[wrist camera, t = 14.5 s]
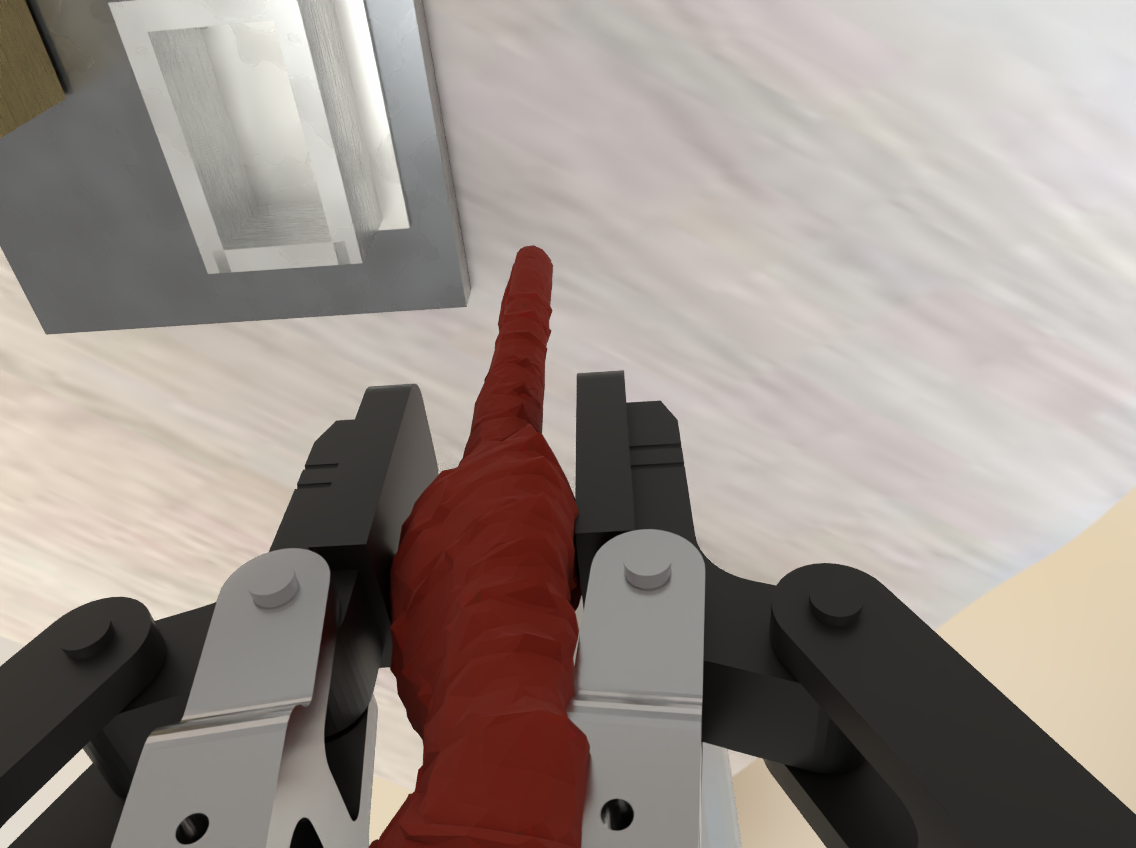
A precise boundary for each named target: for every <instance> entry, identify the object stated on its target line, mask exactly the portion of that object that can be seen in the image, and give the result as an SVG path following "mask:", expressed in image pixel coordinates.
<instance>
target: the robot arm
mask: <svg viewBox="0 0 1136 848" xmlns="http://www.w3.org/2000/svg"><path fill="white" fill-rule="evenodd" d="M437 476H438V466H437V461H436V456H435V452H434V447H433V443H432V438H431V434H430V429H429V425H428V421H427V416H426V412H425V407H424V403H423V398H422V394H421V391H420V389H419V387H418V385H417V384H403V385H388V386H373V387H368V388H367V389H366V391H365V394H364V396H363V399H362V402H361V405H360V407H359V410H358V413H357V415H356V418H355V420H340V421H336V422H335V423H334V424H333V425H332V426H331V427H330V428H328V429H327V430H326V431H325V432H324V433H323V434H322V435H321V436H320V437H319V438H318V439H317V440H316V441H315V442H314V445H313V447H312V450H311V452H310V454H309V457H308V459H307V462H306V464H305V470H303V471H302V474H301V476H300V478H299V481H298V483H297V489H295V490H294V493H293V495H292V498H291V500H290V502H289V505H288V507H287V510H286V512H285V514H284V517H283V519H282V522H281V524H280V526H279V529H278V531H277V534H276V536H275V538H274V541H273V543H272V546H271V548H270V550H269V552H268V553H265V554H263V555H260V556H258V557H256V558H254V559H252V560H250V561H248V562H247V563H245V564H244V565H242V566H241V567H240V568H238V569H237V570H236V571H235V572H234V573H233V574H232V575H231V576H230V577H229V578H228V579H227V581H226V582H225V583H224V585H223V587H222V588H221V591H220V593H219V596H218V599H217V602H215V603H212V604H210V605H207V606H204V607H201V608H197V609H194V610H191V611H187V612H184V613H180V614H177V615H174V616H170V617H167V618H163V619H160V620H157V621H154V620H153V618H152V616H151V614H150V612H149V611H148V609H147V607H146V606H145V605H144V604H143V603H141V602H139V601H138V600H135V599H132V598H127V597H110V598H104V599H100V600H96V601H92V602H90V603H87V604H84V605H82V606H80V607H78V608H76V609H74V610H72V611H70V612H68V613H67V614H65V615H63V616H62V617H61V618H59V619H58V620H57V621H55V622H54V623H53V624H51V625H50V626H49V627H48V628H46V629H45V630H44V631H43V632H42V633H40V634H39V635H38V636H37V637H36V638H34V639H33V640H32V641H31V642H29V643H28V644H27V645H26V646H25V647H23V648H22V649H21V650H20V651H19V652H17V653H16V654H15V655H14V656H12V657H11V658H10V659H9V660H8V661H6V663H4V664H3V665H2V666H1V667H0V828H1V827H2V826H3V825H4V824H5V823H6V821H7V820H9V818H11V816H13V815H14V814H15V813H16V812H17V811H18V810H19V809H20V808H21V807H22V806H23V805H24V804H25V803H26V802H27V801H28V800H29V799H30V798H31V797H32V796H33V795H34V794H35V793H37V791H38V790H39V789H41V788H42V787H43V785H45V784H46V783H47V782H48V781H49V780H50V779H51V778H52V777H53V776H54V775H55V774H56V773H57V772H58V771H59V770H60V769H61V768H62V767H63V766H64V765H65V764H66V763H68V762H69V761H70V760H71V759H72V758H73V757H74V756H75V755H76V754H77V753H78V752H79V751H80V750H81V749H82V748H83V749H84V751H85V752H86V754H87V755H88V756H89V758H90V759H91V761H92V762H93V764H92V765H91V766H90V767H89V768H88V769H86V771H84V773H82V774H81V775H80V776H79V777H78V778H77V779H76V780H75V781H74V782H73V783H72V784H71V785H70V786H69V787H68V788H67V789H66V790H65V791H64V792H63V793H62V794H61V795H60V796H59V797H58V798H57V799H56V800H55V801H54V802H53V803H52V804H51V805H50V806H49V807H48V808H47V809H46V810H45V811H44V812H43V813H42V814H41V815H40V816H39V817H38V818H37V819H36V820H35V821H34V822H33V823H32V824H31V825H30V826H29V827H28V828H27V829H26V830H25V831H24V832H23V833H22V834H21V835H20V836H19V837H18V838H17V839H16V840H15V841H14V842H13V843H12V844H11V845H10V846H9V847H8V848H368V847H369V823H370V809H371V797H372V796H371V795H372V783H373V770H374V757H375V743H376V730H377V716H378V707H377V703H376V699H375V697H374V694H373V691H374V687H375V682H376V678H377V674H378V670H379V668H385V667H391V656H392V646H393V644H392V638H391V631H390V627H391V625H392V621H391V604H390V598H389V593H390V585H391V578H390V572H391V567H392V563H393V559H394V556H395V554H396V553H397V551H398V545H399V540H400V534H401V528H402V525H403V523H404V522H405V521H406V519H407V518H408V517H409V515H410V514H411V511H412V509H413V506H414V504H415V502H416V501H417V499H418V498H419V497H420V495H421V494H422V493H423V492H424V490H425V489H426V488H427V487H428V486H429V485H430V484H431V483H432V482H433V481H434V479H435V478H436V477H437ZM575 502H576V505H577V507H578V516H577V518H576V519H575V537H576V546H577V555H578V564H579V573H580V582H581V591H582V596H581V600H580V603H579V606H578V608H577V610H576V611H575V613H576V618H577V623H578V627H579V635H578V641H577V645H576V649H575V653H574V657H573V660H574V679H573V688H574V692H575V695H573V696H571V698H570V699H569V701H568V703H567V705H566V707H565V711H566V714H567V716H568V718H569V719H570V720H571V721H572V722H573V723H574V724H575V725H576V726H577V727H578V728H579V729H580V730H581V731H582V732H583V733H584V734H585V735H586V736H587V739H588V742H589V744H590V751H589V756H588V765H587V783H586V794H585V800H584V807H583V822H582V838H581V848H742V845H741V838H740V831H739V824H738V817H737V810H736V804H735V796H734V789H733V783H732V776H731V769H730V762H729V755H728V749H730V750H734V751H737V752H741V753H745V754H748V755H752V756H756V757H759V758H763V759H764V762H765V764H766V766H767V768H768V769H769V771H770V773H771V774H772V775H773V777H774V778H775V779H776V781H777V782H778V783H779V785H780V786H781V787H782V789H783V790H784V791H785V793H786V794H787V795H788V797H789V798H790V799H791V801H792V802H793V803H794V804H795V806H796V807H797V809H798V810H799V811H800V813H801V814H802V815H803V817H804V818H805V819H806V821H807V822H808V823H809V825H810V826H811V827H812V829H813V830H814V831H815V832H816V834H817V835H818V837H819V838H820V839H821V841H822V842H823V843H824V845H825V846H826V847H827V848H1136V814H1135V813H1133V812H1132V811H1131V810H1130V809H1129V808H1128V807H1127V806H1126V805H1125V804H1123V803H1122V802H1121V801H1120V800H1119V799H1118V798H1117V797H1116V796H1115V795H1114V794H1112V793H1111V792H1110V791H1109V790H1108V789H1107V788H1106V787H1105V786H1104V785H1103V784H1102V783H1101V782H1099V781H1098V780H1097V779H1096V778H1095V777H1094V776H1093V775H1092V774H1091V773H1090V772H1088V771H1087V770H1086V769H1085V768H1084V767H1083V766H1082V765H1081V764H1080V763H1078V762H1077V761H1076V760H1075V759H1074V758H1073V757H1072V756H1071V755H1070V754H1069V753H1068V752H1066V751H1065V750H1064V749H1063V748H1062V747H1061V746H1060V745H1059V744H1058V743H1057V742H1055V741H1054V740H1053V739H1052V738H1051V737H1050V736H1049V735H1048V734H1047V733H1045V732H1044V731H1043V730H1042V729H1041V728H1040V727H1039V726H1038V725H1037V724H1036V723H1035V722H1033V721H1032V720H1031V719H1030V718H1029V717H1028V716H1027V715H1026V714H1025V713H1024V712H1022V711H1021V710H1020V709H1019V708H1018V707H1017V706H1016V705H1015V704H1013V702H1011V701H1010V700H1009V699H1008V698H1007V697H1006V696H1005V695H1004V694H1003V693H1002V692H1000V691H999V690H998V689H997V688H996V687H995V686H994V685H993V684H992V683H990V682H989V681H988V680H987V679H986V678H985V677H984V676H983V675H982V674H981V673H979V671H977V670H976V669H975V668H974V667H973V666H972V665H971V664H970V663H968V662H967V661H966V660H965V659H964V658H963V657H962V656H961V655H960V654H959V653H958V652H957V651H955V650H954V649H953V648H952V647H951V646H950V645H949V644H948V643H947V642H946V641H944V640H943V639H942V638H941V637H940V636H939V635H938V634H937V633H936V632H935V631H933V630H932V629H931V628H930V627H929V626H928V625H927V624H926V623H925V622H924V621H922V620H921V619H920V618H919V617H918V616H917V615H916V614H915V613H914V612H913V611H911V610H910V609H909V608H908V607H907V606H906V605H905V604H904V603H903V602H902V601H900V600H899V599H898V598H897V597H896V596H895V595H894V594H893V593H892V592H891V591H889V590H888V589H887V588H886V587H885V586H884V585H883V584H882V583H880V582H879V581H878V580H877V579H875V578H874V577H872V576H870V575H869V574H867V573H865V572H863V571H860V570H858V569H855V568H852V567H849V566H845V565H839V564H830V563H820V564H811V565H806V566H803V567H800V568H797V569H795V570H793V571H791V572H790V573H788V574H787V575H786V576H784V577H783V578H782V579H781V580H780V582H779V583H778V584H777V586H775V585H770V584H766V583H761V582H756V581H751V580H747V579H743V578H739V577H737V576H734V575H732V574H729V573H727V572H725V571H724V570H722V569H720V568H718V567H717V566H716V565H714V564H713V563H712V562H711V561H710V560H709V559H708V558H706V557H705V555H704V554H703V553H702V551H701V550H700V548H699V546H698V544H697V541H696V537H695V532H694V525H693V519H692V512H691V506H690V499H689V492H688V486H687V479H686V473H685V467H684V460H683V453H682V448H681V440H680V433H679V427H678V420H677V419H676V418H675V417H674V416H673V414H672V413H671V412H670V411H669V410H668V409H667V408H666V406H665V405H664V404H663V403H662V402H661V401H647V402H631V403H626V393H625V379H624V370H623V371H607V372H592V373H577V407H576V497H575Z"/></svg>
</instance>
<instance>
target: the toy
mask: <svg viewBox="0 0 1136 848" xmlns="http://www.w3.org/2000/svg"><path fill="white" fill-rule="evenodd" d="M552 274H553V264H552V263H551V260H550V258H549V257H548V255H547V254H546V253H545V252H544V251H543V249H540V248H538V247H536V246H526V247H523V248H522V249H520V250H519V252H517V256H516V259H515V263H514V265H513V267H512V271H511V275H510V279H509V282H508V284H507V287H506V289H505V292H504V296H503V300H502V303H501V310H500V316H499V321H498V326H499V334H498V337H497V339H496V342H495V351H494V355H493V358H492V362H491V366H490V369H489V372H488V374H487V376H486V378H485V383H484V385H483V387H482V389H481V392H480V394H479V396H478V398H477V401H476V403H475V407H474V414H473V420H472V427H471V433H470V436H469V439H468V442H467V444H466V447H465V450H464V455H463V459H462V460H461V461H460V463H459V466H458V467H457V468H454V469H449V470H444V471H442V472H441V473H440V474H439V475H438V476H437V477H436V478H435V479H434V481H433V482H432V483H431V484H430V485H429V486H428V487H427V488H426V489H425V490H424V492H423V493H422V494H421V495H420V497H419V498H418V499H417V501H416V502H415V504H414V506H413V509H412V511H411V514H410V515H409V517H408V518H407V519H406V521H405V522H404V523H403V525H402V528H401V534H400V540H399V545H398V551H397V553H396V554H395V556H394V559H393V563H392V567H391V572H390V578H391V585H390V593H389V598H390V604H391V621H392V625H391V627H390V631H391V638H392V644H393V646H392V656H391V667H390V670H391V671H392V673H393V674H394V676H395V677H396V679H397V690H398V695H399V697H400V699H401V701H402V703H403V705H404V707H405V708H406V711H407V717H408V719H409V721H410V723H411V725H412V727H413V729H414V730H415V731H416V732H417V733H418V734H419V735H420V737H421V738H422V740H423V746H424V750H423V765H422V766H421V768H420V769H419V770H418V775H417V782H416V788H415V791H414V792H413V793H412V794H409V795H408V797H407V799H406V801H405V802H404V804H403V805H402V806H401V808H400V809H399V811H398V812H397V813H396V815H395V816H394V818H393V819H392V820H391V822H390V823H389V825H388V826H387V827H386V829H385V830H384V832H383V833H382V835H381V836H380V839H379V840H378V839H377V840H375V841H373V842H372V843H371V845H370V846H369V847H368V848H581V838H582V822H583V807H584V800H585V794H586V783H587V765H588V756H589V751H590V744H589V742H588V739H587V736H586V735H585V734H584V733H583V732H582V731H581V730H580V729H579V728H578V727H577V726H576V725H575V724H574V723H573V722H572V721H571V720H570V719H569V718H568V716H567V714H566V711H565V707H566V705H567V703H568V701H569V699H570V698H571V696H573V695H575V692H574V688H573V679H574V660H573V657H574V653H575V649H576V645H577V641H578V635H579V627H578V623H577V618H576V613H575V611H576V610H577V608H578V606H579V603H580V600H581V596H582V591H581V582H580V573H579V564H578V555H577V546H576V537H575V519H576V518H577V516H578V507H577V505H576V502H575V497H574V495H573V492H572V490H571V488H570V485H569V483H568V480H567V478H566V476H565V474H564V472H563V470H562V468H561V467H560V465H559V463H558V461H557V459H556V457H555V455H554V453H553V452H552V450H551V448H550V447H549V445H548V443H547V442H546V440H545V438H544V436H543V435H542V422H543V400H544V389H545V359H546V352H547V348H546V346H547V342H548V339H549V336H550V334H551V330H550V329H549V319H550V316H551V313H552V309H551V307H550V301H551V290H552Z"/></svg>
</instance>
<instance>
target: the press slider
mask: <svg viewBox="0 0 1136 848" xmlns="http://www.w3.org/2000/svg"><path fill="white" fill-rule="evenodd" d="M64 99H66V96H65V94H64V92H63V89H62V87H61V85H60V82H59V80H58V77H57V75H56V73H55V70H54V68H53V66H52V63H51V61H50V58H49V56H48V54H47V51H46V49H45V46H44V44H43V42H42V39H41V37H40V35H39V32H38V30H37V27H36V25H35V23H34V20H33V18H32V16H31V13H30V11H29V8H28V6H27V4H26V1H25V0H0V138H2V137H3V136H5V135H7V134H8V133H10V132H12V131H13V130H15V129H17V128H18V127H20V126H21V125H23V124H25V123H26V122H28V121H30V120H31V119H33V118H35V117H36V116H38V115H40V114H41V113H43V112H45V111H46V110H48V109H50V108H51V107H53V106H55V105H56V104H58V103H59V102H61V101H63V100H64Z"/></svg>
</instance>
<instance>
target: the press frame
mask: <svg viewBox="0 0 1136 848" xmlns="http://www.w3.org/2000/svg"><path fill="white" fill-rule="evenodd" d="M25 1H26V4H27V6H28V8H29V11H30V13H31V16H32V18H33V20H34V23H35V25H36V27H37V30H38V32H39V35H40V37H41V39H42V42H43V44H44V46H45V49H46V51H47V54H48V56H49V58H50V61H51V63H52V66H53V68H54V70H55V73H56V75H57V77H58V80H59V82H60V85H61V87H62V89H63V92H64V94H65V96H66V99H64V100H63V101H61V102H59V103H58V104H56V105H55V106H53V107H51V108H50V109H48V110H46V111H45V112H43V113H41V114H40V115H38V116H36V117H35V118H33V119H31V120H30V121H28V122H26V123H25V124H23V125H21V126H20V127H18V128H17V129H15V130H13V131H12V132H10V133H8V134H7V135H5V136H3V137H2V138H0V246H1V248H2V250H3V252H4V254H5V256H6V258H7V260H8V262H9V264H10V266H11V268H12V270H13V272H14V273H15V275H16V277H17V279H18V281H19V283H20V285H21V287H22V289H23V291H24V293H25V295H26V297H27V299H28V301H29V302H30V304H31V306H32V308H33V310H34V312H35V314H36V316H37V318H38V320H39V322H40V324H41V326H42V328H43V330H44V331H45V333H46V334H60V333H75V332H90V331H106V330H121V329H136V328H151V327H166V326H182V325H197V324H212V323H227V322H242V321H258V320H273V319H288V318H303V317H318V316H334V315H349V314H364V313H379V312H394V311H410V310H425V309H440V308H455V307H467V303H468V298H469V294H470V290H471V287H470V281H469V275H468V269H467V263H466V257H465V251H464V245H463V239H462V233H461V228H460V222H459V216H458V210H457V204H456V198H455V192H454V186H453V180H452V174H451V168H450V162H449V156H448V150H447V144H446V139H445V133H444V127H443V121H442V115H441V109H440V103H439V97H438V91H437V85H436V79H435V73H434V67H433V61H432V55H431V49H430V44H429V38H428V32H427V26H426V20H425V14H424V8H423V2H422V0H25Z"/></svg>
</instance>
